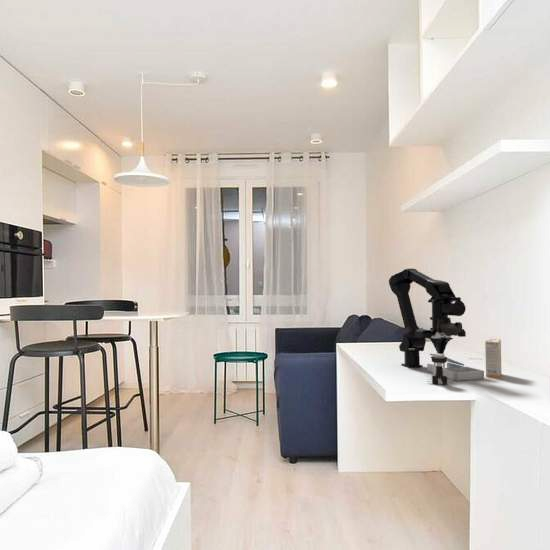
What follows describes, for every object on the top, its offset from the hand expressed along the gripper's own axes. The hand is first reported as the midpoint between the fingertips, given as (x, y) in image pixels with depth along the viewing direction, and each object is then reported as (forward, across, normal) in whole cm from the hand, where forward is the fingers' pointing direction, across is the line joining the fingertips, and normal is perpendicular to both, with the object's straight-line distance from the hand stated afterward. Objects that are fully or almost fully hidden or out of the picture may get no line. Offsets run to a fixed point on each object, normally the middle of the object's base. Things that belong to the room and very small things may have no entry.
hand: (440, 355), depth 173 cm
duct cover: (+2, +3, 0) cm, 3 cm away
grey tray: (+7, +2, -4) cm, 8 cm away
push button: (+7, -12, -15) cm, 20 cm away
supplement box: (+7, +16, -9) cm, 20 cm away
